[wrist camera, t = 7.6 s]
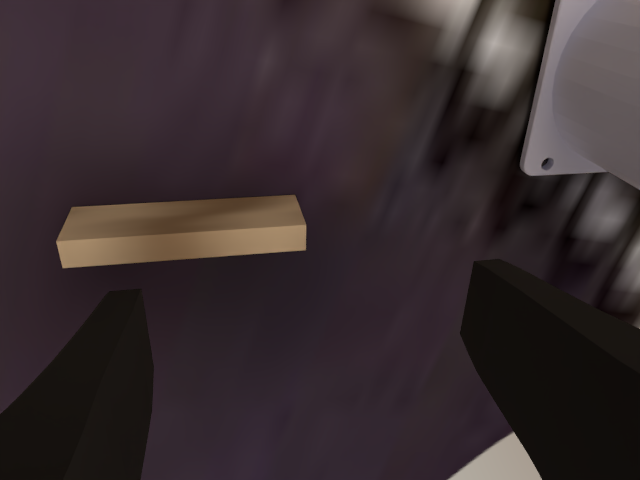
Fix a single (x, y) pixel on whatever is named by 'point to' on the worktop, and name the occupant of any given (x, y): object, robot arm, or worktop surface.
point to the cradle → (180, 230)
